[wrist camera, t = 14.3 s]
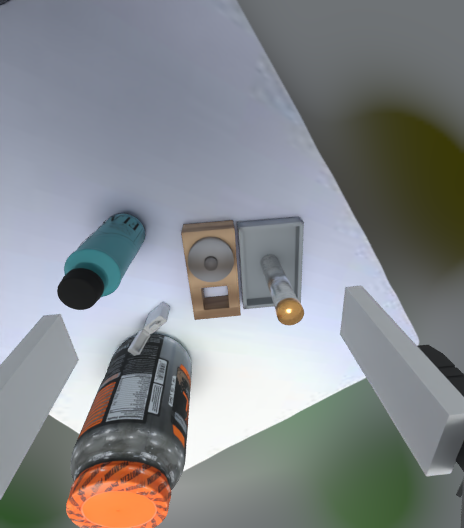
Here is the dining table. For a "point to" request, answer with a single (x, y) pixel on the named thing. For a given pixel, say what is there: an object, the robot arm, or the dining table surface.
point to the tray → (261, 244)
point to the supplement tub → (133, 439)
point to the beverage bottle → (101, 261)
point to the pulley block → (211, 267)
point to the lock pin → (281, 291)
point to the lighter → (149, 327)
